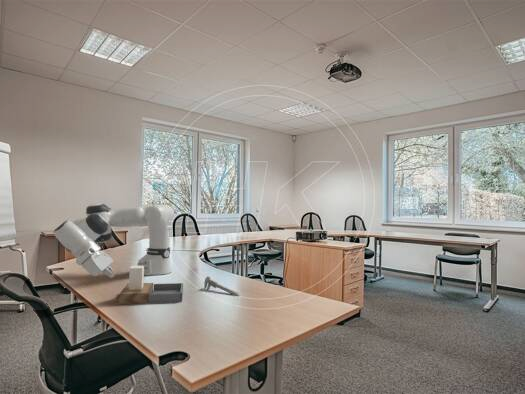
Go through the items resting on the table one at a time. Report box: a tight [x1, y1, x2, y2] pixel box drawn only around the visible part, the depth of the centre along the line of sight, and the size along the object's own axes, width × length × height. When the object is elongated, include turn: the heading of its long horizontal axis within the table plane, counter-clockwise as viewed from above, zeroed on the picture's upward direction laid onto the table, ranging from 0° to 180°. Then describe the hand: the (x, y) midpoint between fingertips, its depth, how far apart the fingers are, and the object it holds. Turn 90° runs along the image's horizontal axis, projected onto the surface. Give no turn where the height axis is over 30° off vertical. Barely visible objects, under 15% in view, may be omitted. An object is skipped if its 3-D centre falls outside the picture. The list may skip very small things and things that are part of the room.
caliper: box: [203, 275, 241, 297], centre depth 147 cm, size 20×1×6 cm, turn 59°
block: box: [128, 265, 145, 290], centre depth 135 cm, size 5×5×9 cm
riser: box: [118, 282, 154, 305], centre depth 135 cm, size 11×16×4 cm
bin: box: [148, 282, 184, 304], centre depth 138 cm, size 13×16×4 cm
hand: (113, 276), depth 133 cm, fingers closed
